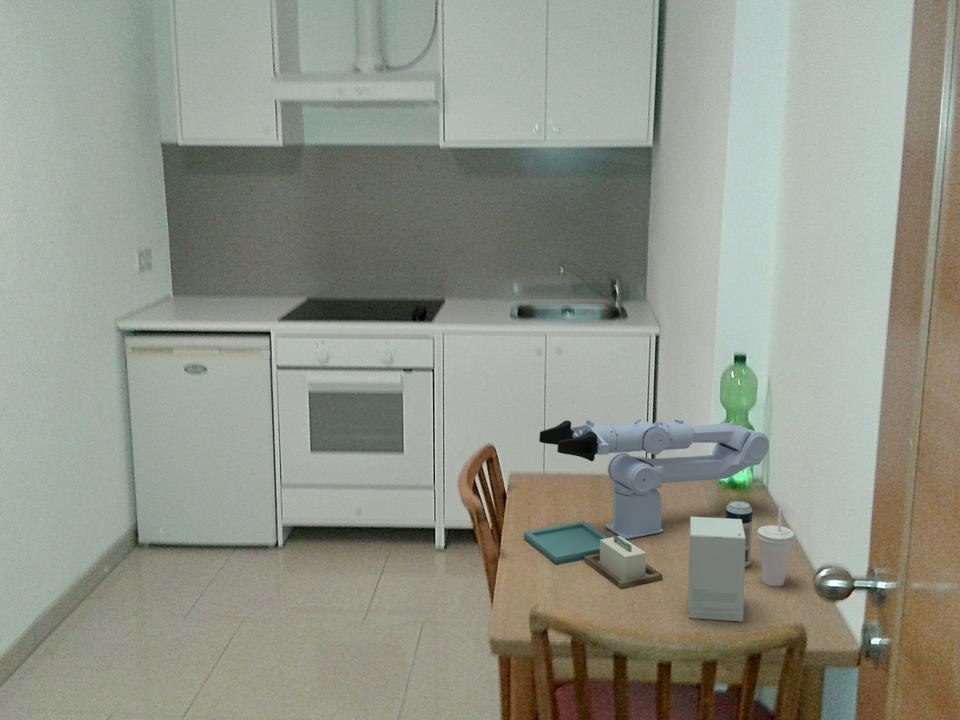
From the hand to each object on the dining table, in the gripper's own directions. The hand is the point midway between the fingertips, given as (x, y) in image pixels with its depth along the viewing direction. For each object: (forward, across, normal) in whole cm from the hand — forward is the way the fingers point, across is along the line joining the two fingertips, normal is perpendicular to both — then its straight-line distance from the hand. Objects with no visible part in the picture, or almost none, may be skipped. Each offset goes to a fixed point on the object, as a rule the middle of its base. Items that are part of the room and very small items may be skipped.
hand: (549, 441), depth 183 cm
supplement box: (-15, +36, +21) cm, 44 cm away
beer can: (-30, +23, +19) cm, 42 cm away
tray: (-6, +2, +21) cm, 22 cm away
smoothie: (-31, +32, +19) cm, 48 cm away
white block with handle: (-9, +16, +21) cm, 28 cm away
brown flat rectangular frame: (-9, +16, +21) cm, 28 cm away
